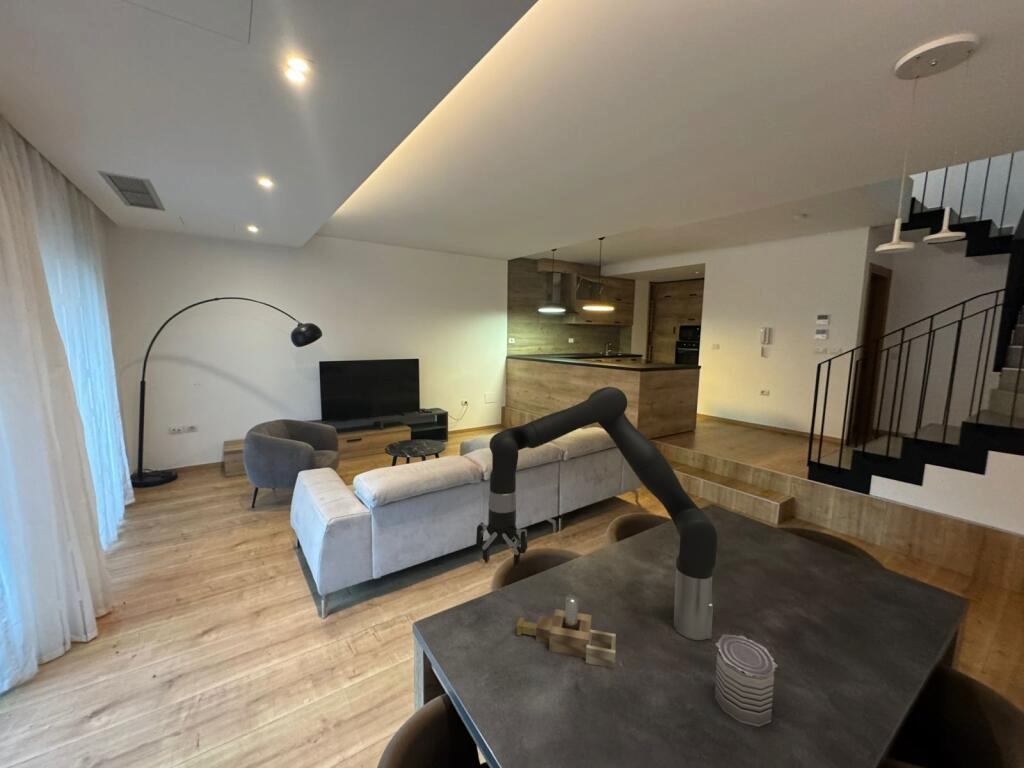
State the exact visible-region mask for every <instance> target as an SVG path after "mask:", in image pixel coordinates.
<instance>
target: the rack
mask: <svg viewBox="0 0 1024 768" xmlns="http://www.w3.org/2000/svg"><path fill="white" fill-rule="evenodd" d="M616 635H617V634H616V633H611V632H606V631H600V630H595V629H592V628H591V629H590V637H589V644H587V645H586V658H585V663H586V664H590V665H596V666H601V667H605V668H610V669H616V640H617V639H616V637H617V636H616Z"/></svg>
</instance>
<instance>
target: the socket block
mask: <svg viewBox="0 0 1024 768" xmlns="http://www.w3.org/2000/svg"><path fill="white" fill-rule="evenodd" d="M592 618H593V617H592V615H591V614H586V613H580V612H578V616H577V630H571V629H566V628H565V609H564V610H562V609H558V608H555V610H554V614H553V617H548V616H543V615H542V616H541V615H540V616H538V620H537V623H536V624H537V627H536V636H535V642H537V643H543V644H548V651H549V652H552V653H557V654H558V653H559V654H562V655H568V656H572V657H573V656H574V657H578V658H582V659H583V658H584V659H586V645H587V644H589V637H590V629H591V630H592Z"/></svg>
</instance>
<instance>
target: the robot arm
mask: <svg viewBox="0 0 1024 768" xmlns="http://www.w3.org/2000/svg"><path fill="white" fill-rule="evenodd" d="M627 407H628V398H627V395H626V394H625V393H624V391H622V390H621V389H619V388H617V387H614V386H605V387H602V388H600V389H597V390H595V391H593V392H592V393H591V394H590V395H589V396H588V398H586V399H585V400H584V401H582V402H580V403H577V404H575V405H573V406H570V407H567V408H565V409H562V410H559V411H555V412H552V413H550V414H546V415H545V416H541V417H539V418H537V419H535V420H532V421H529V422H526V423H525V424H523V425H520V426H514V427H510V428H507V429H504V430H501V431H499V432H497V433H495V434H494V435H493V436H491V438H490V439H489V445H488V446H489V450H490V452H491V456H492V461H491V462H492V463H491V464H492V468H491V472H490V476H489V494H488V502H487V503H488V505H487V506H488V517H487V519H488V521H487V522H488V524H485V523H484V522H479V524H478V525H477V526H476V542H475V543H476V544H475V545H476V547H478V548H479V547H480V548H481V549H482V559H483V561H484V563H486V564H488V562H489V561H490V550H491V549H490V548H491V547H490V545H491V544H492V542H495V543H496V544H503V545H508V547H509V549H512V552H513V553H514V554H513V568H517V567H518V566H519V565H520V563H521V554H525V553H526V552H527V549H528V529H527V528H525V527H524V528H523V529H519V528H517V522H516V521H517V493H516V489H517V487H516V486H517V482H516V481H517V480H516V479H517V477H516V473H517V468H518V461H519V451H520V450H523V449H527V448H528V449H535V448H538V447H542V446H543V445H545V444H548V443H550V442H553V441H555V440H558V439H559V438H561V437H563V436H566V435H568V434H569V433H572V432H574V431H576V430H579V429H582V428H584V427H587V426H590V425H592V424H593V425H594V424H596V423H598V425H599V426H600V427H601V428H602V429H603V430H604V431H605V432H606V433H607V435H608V436H610V438H611V439H612V441H613V443H614V444H615V446H616V447H617V449H618V451H620V454H621V455H622V456H623V458H624V459H625V461H626V462H627V464H628V465H629V467H630V468H631V469H632V472H634V474H635V475H636V476H637V478H638V479H639V481H640V482H641V484H642V485H643V486H644V487H645V488H646V489H647V490H648V492H650V493H651V495H653V496H654V497H655V498H656V499H657V500H658V501H659V502H660V503H661V505H662V506H663V507H664V509H665V511H666V512H667V513H668V515H669V517H670V519H671V521H672V522H673V524H674V527H675V529H676V531H677V534H678V535H679V551H678V555H677V557H676V559H675V561H676V564H675V580H674V581H675V582H674V583H675V584H674V585H675V587H674V608H673V628H674V629H675V631H676V632H677V633H678V634H679V635H681V636H683V637H685V638H687V639H690V640H695V641H703V640H708V639H709V640H712V631H713V616H714V615H713V613H714V606H713V602H712V592H713V591H712V590H713V589H712V587H713V575H714V574H713V572H714V568H715V566H716V563H717V562H716V560H717V550H718V534H717V529H716V528H715V526H714V524H713V523H712V521H711V520H710V519H709V517H708V516H707V515H706V513H704V511H702V509H701V508H700V507H699V506H698V505H697V504H696V503H695V502H694V501H693V499H692V498H691V497H690V496H689V495H688V493H687V492H686V491H685V489H684V488H683V486H682V484H681V482H680V480H679V478H678V476H677V475H676V472H675V471H674V469H673V468H672V466H671V465H670V463H669V461H668V460H667V459H666V458H665V456H664V455H663V453H662V452H661V450H659V448H658V447H657V446H656V445H655V444H654V443H653V442H652V441H651V440H650V439H649V438H648V437H647V436H645V435H644V434H643V433H641V431H640V430H639V429H637V428H636V427H635V426H634V425H633V424H632V422H631V421H630V420H629V419H628V417H627V415H626V414H625V412H626V410H627V409H628V408H627ZM486 531H487V533H488V535H489V537H488V538H487V540H486V541H485V540H484V533H485V532H486ZM516 535H518V538H519V539H520V544H519V543H518V540H517V538H516V537H515V536H516Z"/></svg>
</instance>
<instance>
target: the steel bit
mask: <svg viewBox="0 0 1024 768" xmlns="http://www.w3.org/2000/svg"><path fill="white" fill-rule="evenodd" d="M578 603H579V598H578V596H576V595H574V594H569V595H566V596H565V609H564V611H565V628H566V629H571V630H577V616H578V613H579V612H578V611H579V610H578V609H579V604H578Z"/></svg>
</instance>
